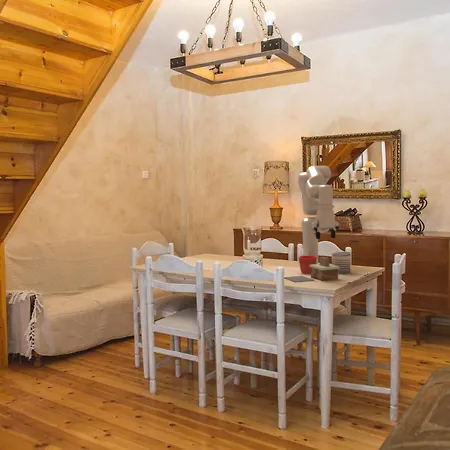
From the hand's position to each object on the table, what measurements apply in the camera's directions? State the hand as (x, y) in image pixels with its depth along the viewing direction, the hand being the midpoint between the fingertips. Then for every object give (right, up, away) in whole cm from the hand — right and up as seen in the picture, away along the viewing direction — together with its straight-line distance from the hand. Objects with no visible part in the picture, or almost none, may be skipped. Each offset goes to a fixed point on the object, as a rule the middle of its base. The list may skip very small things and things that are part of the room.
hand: (325, 238), depth 287 cm
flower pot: (-7, -21, +21) cm, 30 cm away
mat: (-15, -23, +1) cm, 27 cm away
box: (0, -22, +2) cm, 22 cm away
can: (+13, -21, +20) cm, 32 cm away
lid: (0, -16, +1) cm, 16 cm away
